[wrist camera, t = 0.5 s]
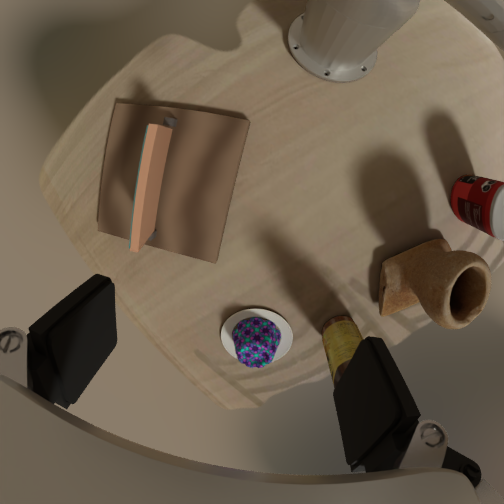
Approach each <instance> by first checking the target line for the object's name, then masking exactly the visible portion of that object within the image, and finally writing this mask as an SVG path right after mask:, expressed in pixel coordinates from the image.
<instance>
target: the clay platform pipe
mask: <svg viewBox="0 0 504 504" xmlns="http://www.w3.org/2000/svg"><path fill="white" fill-rule="evenodd" d="M379 285H380V289H379V313H380V315H381V316H382V317H384V316H387V315H389V314H392V313H395V312H397V311H400V310H402V309H405V308H407V307H409V306H411V305H414V304H416V303H418V302H420V303H421V305H422V307H423V308H424V310H425V312H426V313H427V314H428V315H429V317H430V318H431V319H432V320H433V321H434V322H436V323H437V324H438V325H440V326H442V327H444V328H447V329H459V328H462V327H465V326H467V325H468V324H469V323H470V322H471V321H472V320H473V319H475V317H477V316H478V315H479V314H480V313H481V311H482V310H483V308H484V307H485V304H486V302H487V299H488V297H489V294H490V289H491V273H490V269H489V267H488V265H487V263H486V262H485V261H484V259H482V258H481V257H480V256H478V255H477V254H475V253H472V252H467V251H452V250H451V248H450V246H449V244H448V242H447V241H446V240H444V239H435V240H431V241H427V242H425V243H422V244H420V245H418V246H416V247H413V248H411V249H409V250H407V251H404V252H402V253H400V254H398V255H396V256H393V257H391V258H389V259H387V260H385V261H384V262H383V263H382V269H381V273H380V282H379Z"/></svg>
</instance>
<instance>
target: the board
mask: <svg viewBox="0 0 504 504" xmlns="http://www.w3.org/2000/svg"><path fill="white" fill-rule="evenodd" d="M149 124H156V125H161V126H164V127H168V128H171V129H173V130H172V134H171V139H170V143H169V148H168V152H167V157H166V162H165V167H164V173H163V178H162V184H161V190H160V196H159V202H158V208H157V215H156V222H155V230H154V232H153V233H152V234H151V236H150V237H149V238H148V240H147V241H146V242H145V244H146V245H149V246H153V247H157V248H160V249H164V250H167V251H171V252H175V253H178V254H182V255H186V256H189V257H193V258H197V259H201V260H204V261H208V262H212V263H216V262H217V260H218V255H219V251H220V246H221V242H222V237H223V233H224V228H225V224H226V219H227V215H228V211H229V206H230V202H231V198H232V194H233V189H234V185H235V181H236V177H237V173H238V169H239V165H240V161H241V157H242V153H243V149H244V145H245V141H246V137H247V133H248V129H249V126H250V121H249V120H244V119H239V118H235V117H229V116H224V115H219V114H213V113H207V112H201V111H194V110H187V109H180V108H172V107H162V106H152V105H140V104H123V103H116V105H115V109H114V113H113V118H112V122H111V127H110V132H109V137H108V143H107V148H106V154H105V161H104V168H103V175H102V183H101V192H100V203H99V216H98V231H101V232H104V233H107V234H111V235H114V236H118V237H121V238H125V239H128V240H130V231H131V221H132V212H133V204H134V196H135V189H136V182H137V176H138V169H139V164H140V158H141V153H142V148H143V143H144V138H145V133H146V129H147V125H149Z"/></svg>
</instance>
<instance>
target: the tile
mask: <svg viewBox="0 0 504 504" xmlns="http://www.w3.org/2000/svg"><path fill="white" fill-rule="evenodd" d="M172 130H173V129H171V128H168V127H164V126H161V125H156V124H149V125H147V129H146V133H145V138H144V143H143V148H142V153H141V158H140V164H139V169H138V176H137V182H136V189H135V196H134V204H133V212H132V221H131V231H130V243H129V248H130V251H134V252H139V251H140V249H141V248H142V246H143V245H144V244H145V242H146V241H147V240H148V238H149V237H150V236H151V234H152V233H153V232H154V230H155V222H156V215H157V208H158V202H159V196H160V190H161V184H162V178H163V173H164V167H165V162H166V157H167V152H168V148H169V143H170V139H171V134H172Z"/></svg>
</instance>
